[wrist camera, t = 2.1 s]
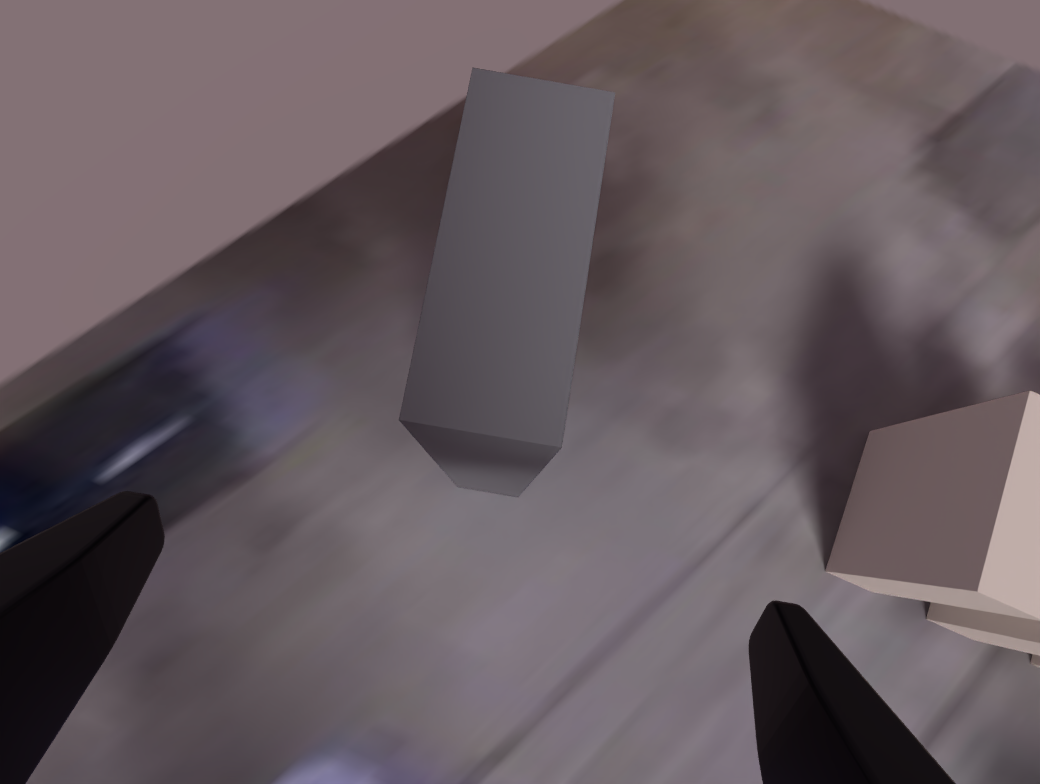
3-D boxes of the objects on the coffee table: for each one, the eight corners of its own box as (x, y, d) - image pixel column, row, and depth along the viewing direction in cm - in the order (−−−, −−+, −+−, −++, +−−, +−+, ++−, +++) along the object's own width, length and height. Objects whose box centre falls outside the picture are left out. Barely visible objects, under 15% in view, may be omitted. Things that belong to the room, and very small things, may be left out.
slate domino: (542, 350, 21) (615, 92, 9) (518, 497, 20) (561, 447, 8) (484, 340, 21) (472, 67, 9) (457, 487, 20) (399, 420, 8)
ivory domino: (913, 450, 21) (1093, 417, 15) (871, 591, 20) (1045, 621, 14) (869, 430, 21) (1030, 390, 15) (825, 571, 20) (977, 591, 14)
